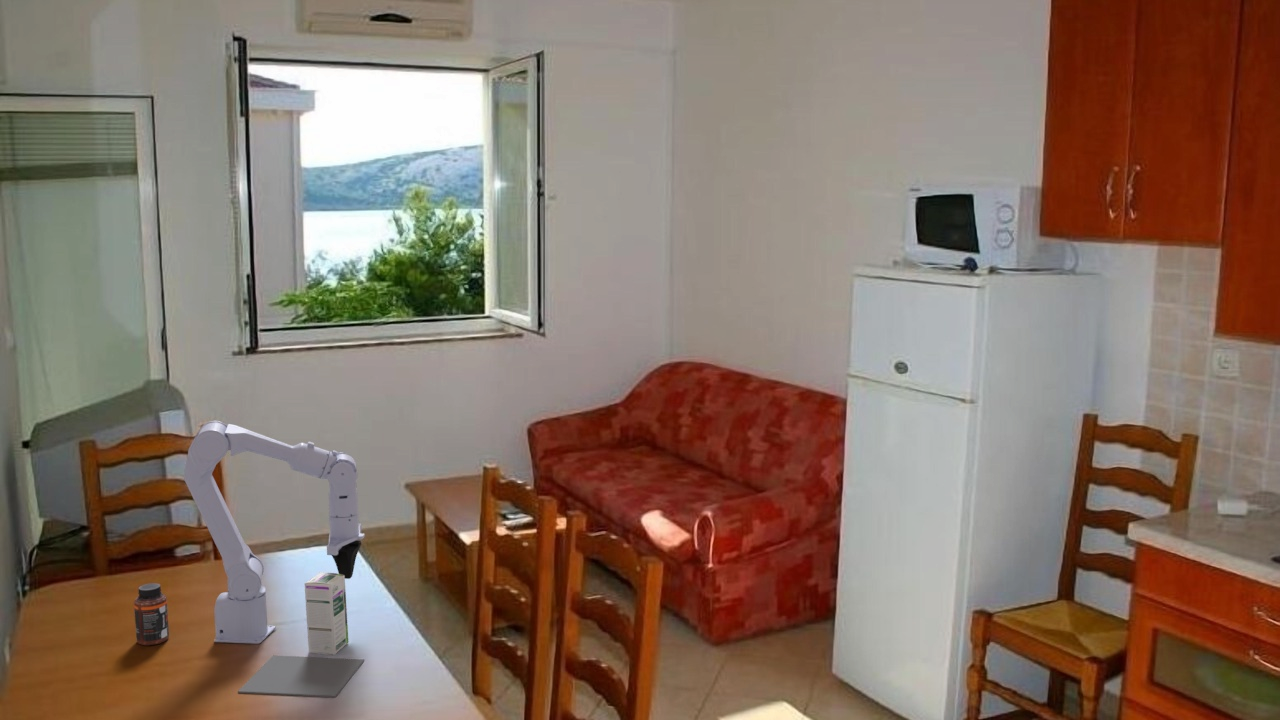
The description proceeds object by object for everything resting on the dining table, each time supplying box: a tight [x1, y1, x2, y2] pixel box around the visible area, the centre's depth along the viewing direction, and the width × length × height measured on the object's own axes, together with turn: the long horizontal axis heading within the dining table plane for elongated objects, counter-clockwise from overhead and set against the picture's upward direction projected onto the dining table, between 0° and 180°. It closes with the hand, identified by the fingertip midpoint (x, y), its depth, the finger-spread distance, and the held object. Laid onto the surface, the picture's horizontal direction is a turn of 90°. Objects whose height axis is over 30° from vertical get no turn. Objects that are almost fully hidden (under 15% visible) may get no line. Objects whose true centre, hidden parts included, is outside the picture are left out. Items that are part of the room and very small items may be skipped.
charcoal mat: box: [237, 654, 365, 698], centre depth 197 cm, size 18×15×1 cm
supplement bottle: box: [133, 582, 170, 646], centre depth 212 cm, size 6×6×11 cm
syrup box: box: [304, 572, 349, 656], centre depth 209 cm, size 6×6×14 cm
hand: (346, 577), depth 219 cm, fingers closed
